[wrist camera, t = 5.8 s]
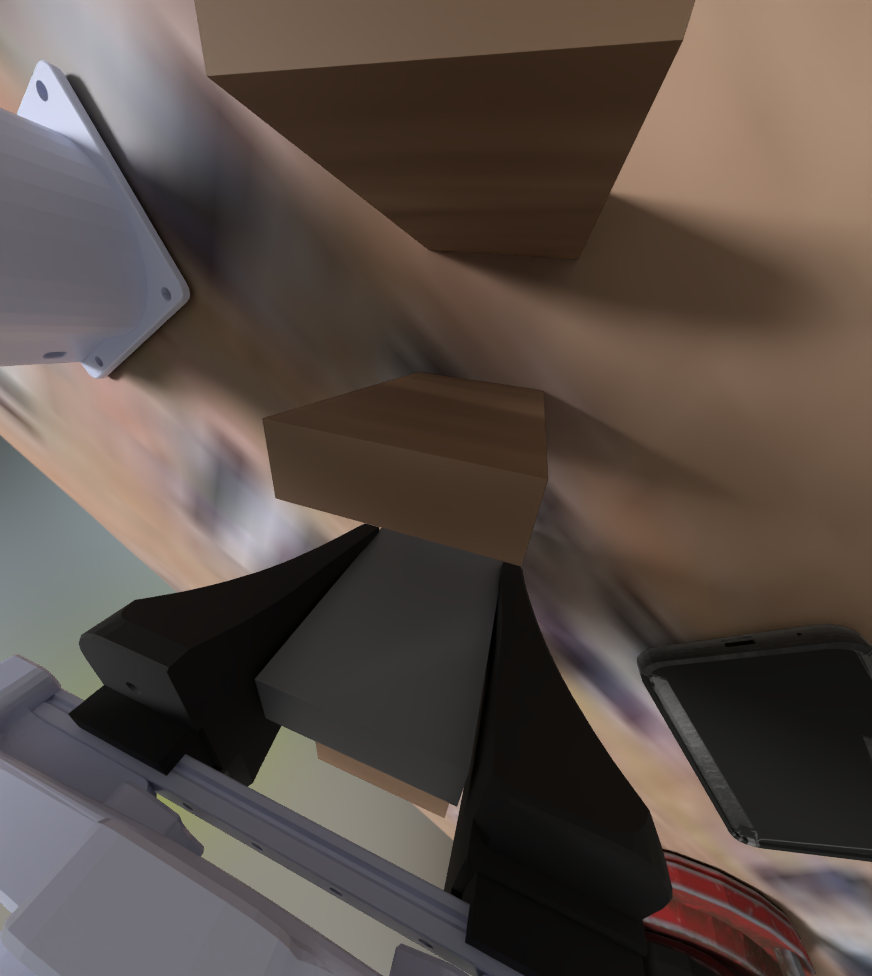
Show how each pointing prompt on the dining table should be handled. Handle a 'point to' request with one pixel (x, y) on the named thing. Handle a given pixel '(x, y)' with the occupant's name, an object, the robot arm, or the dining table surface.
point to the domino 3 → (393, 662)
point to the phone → (776, 733)
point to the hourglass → (719, 929)
